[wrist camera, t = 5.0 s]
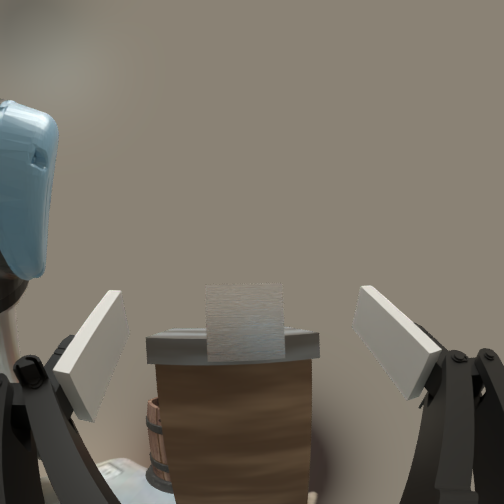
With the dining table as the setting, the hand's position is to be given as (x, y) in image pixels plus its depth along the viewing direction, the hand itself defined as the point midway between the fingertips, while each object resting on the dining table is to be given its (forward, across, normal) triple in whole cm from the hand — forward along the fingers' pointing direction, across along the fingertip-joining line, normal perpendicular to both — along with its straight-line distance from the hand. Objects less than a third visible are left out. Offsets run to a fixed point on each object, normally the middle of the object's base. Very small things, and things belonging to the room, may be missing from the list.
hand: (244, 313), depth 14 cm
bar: (+10, 0, -8) cm, 12 cm away
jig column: (-9, 0, -40) cm, 41 cm away
